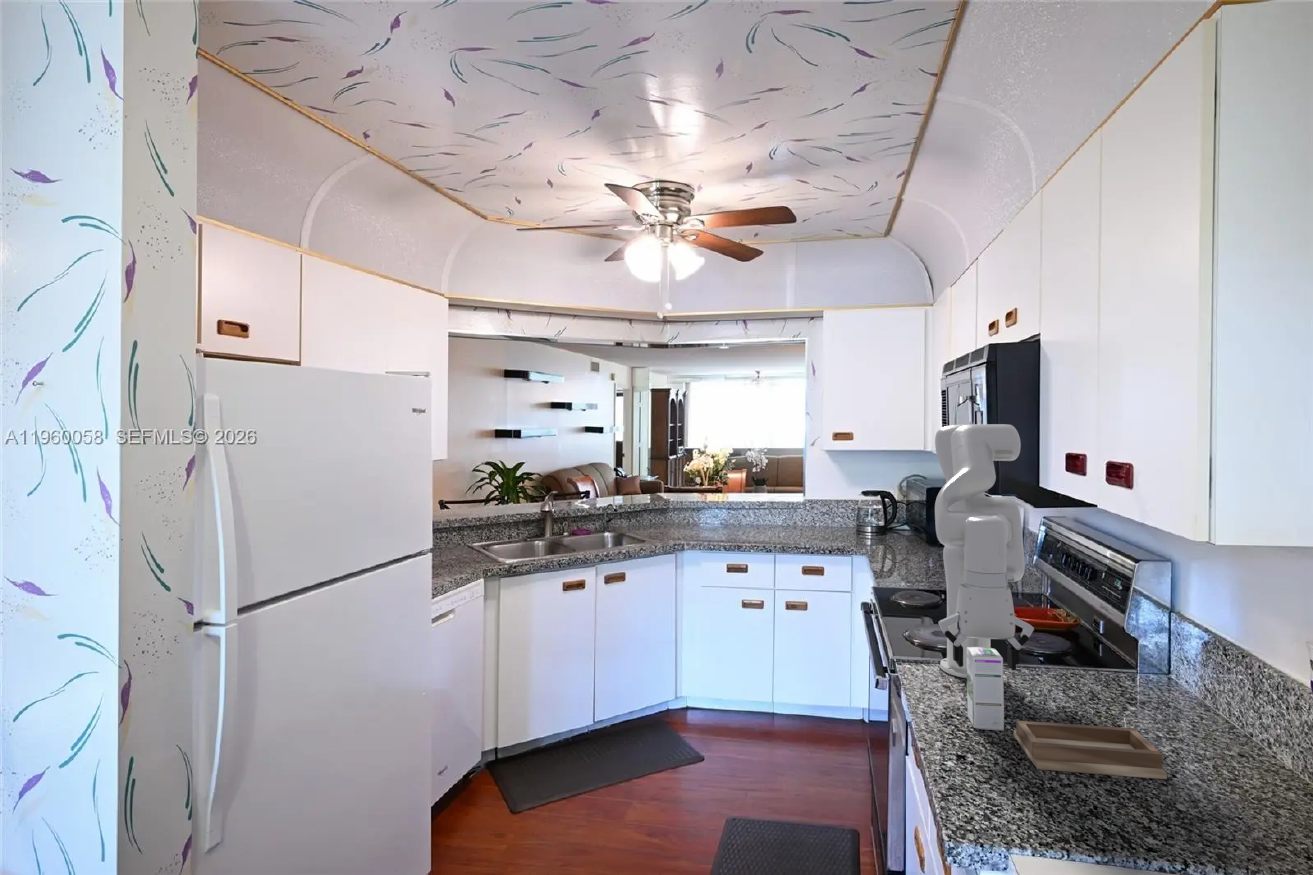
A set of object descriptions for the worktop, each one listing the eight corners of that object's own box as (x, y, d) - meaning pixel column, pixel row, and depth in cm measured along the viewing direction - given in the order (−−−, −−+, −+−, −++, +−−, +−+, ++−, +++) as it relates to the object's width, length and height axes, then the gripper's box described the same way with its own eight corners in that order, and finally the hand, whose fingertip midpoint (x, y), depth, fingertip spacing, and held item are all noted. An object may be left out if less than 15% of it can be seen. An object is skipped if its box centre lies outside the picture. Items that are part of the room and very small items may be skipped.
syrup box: (1005, 731, 135) (1005, 657, 134) (972, 728, 136) (972, 655, 136) (996, 718, 140) (997, 647, 140) (965, 716, 142) (965, 645, 141)
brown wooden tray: (1013, 735, 133) (1013, 717, 133) (1129, 743, 129) (1129, 724, 129) (1037, 769, 120) (1037, 749, 120) (1166, 779, 116) (1167, 758, 116)
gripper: (1026, 577, 139) (1026, 662, 139) (935, 574, 142) (935, 657, 142) (1039, 585, 132) (1039, 675, 132) (942, 581, 135) (943, 669, 135)
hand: (985, 666), depth 137 cm, fingers open, 9 cm apart
